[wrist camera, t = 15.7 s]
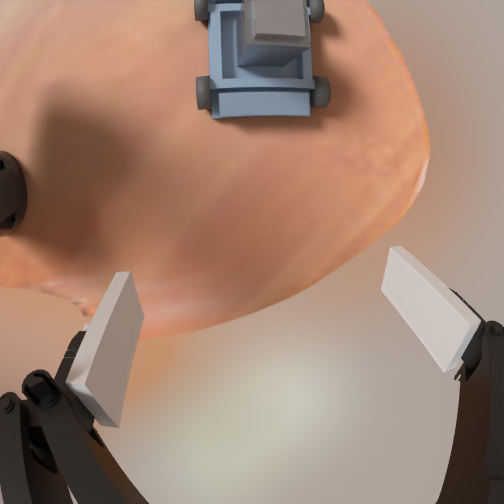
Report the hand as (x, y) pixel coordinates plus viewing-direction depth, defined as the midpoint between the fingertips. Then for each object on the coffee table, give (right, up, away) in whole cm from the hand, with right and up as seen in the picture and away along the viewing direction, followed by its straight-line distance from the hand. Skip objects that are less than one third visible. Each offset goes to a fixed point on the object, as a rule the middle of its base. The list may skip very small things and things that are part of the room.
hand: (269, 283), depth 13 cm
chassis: (0, +28, +16) cm, 32 cm away
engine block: (0, +28, +15) cm, 31 cm away
